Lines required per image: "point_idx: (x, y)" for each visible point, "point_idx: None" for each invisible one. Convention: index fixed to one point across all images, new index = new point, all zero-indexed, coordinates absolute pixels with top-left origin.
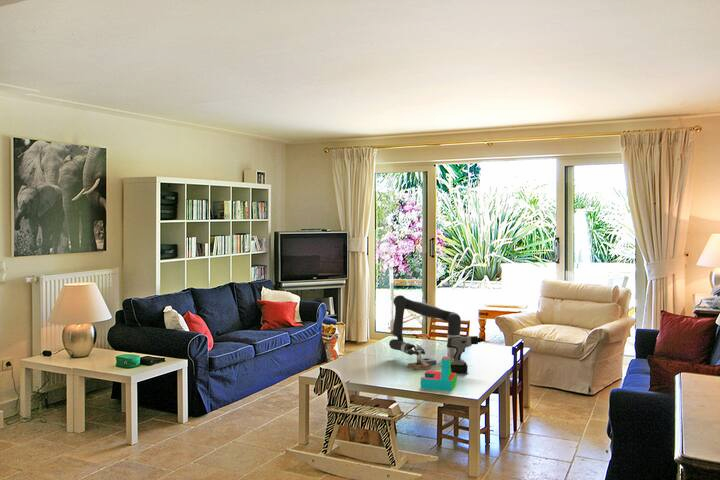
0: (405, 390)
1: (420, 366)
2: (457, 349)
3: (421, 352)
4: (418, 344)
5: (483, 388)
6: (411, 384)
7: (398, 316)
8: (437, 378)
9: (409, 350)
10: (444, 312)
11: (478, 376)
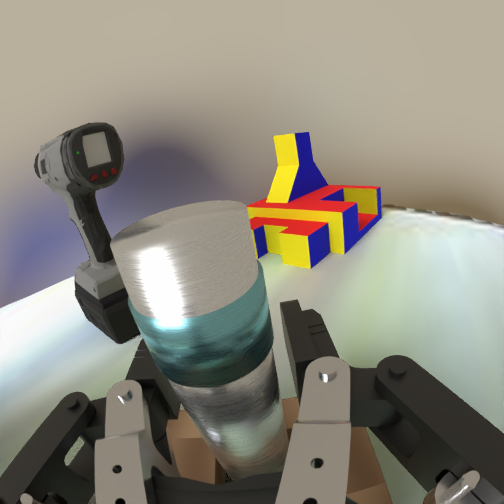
0: (423, 211)
1: (292, 401)
2: (94, 196)
3: (170, 398)
4: (198, 216)
5: None
6: (407, 232)
7: None
8: (331, 187)
9: (452, 402)
10: None
11: None
